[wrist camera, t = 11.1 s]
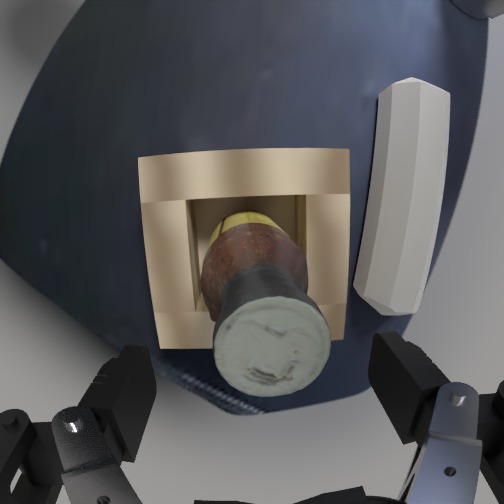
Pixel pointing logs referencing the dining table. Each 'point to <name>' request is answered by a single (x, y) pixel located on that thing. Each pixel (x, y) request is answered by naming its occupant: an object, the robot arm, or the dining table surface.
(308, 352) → the sauce bottle
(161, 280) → the socket block
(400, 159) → the crystal
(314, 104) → the dining table surface
